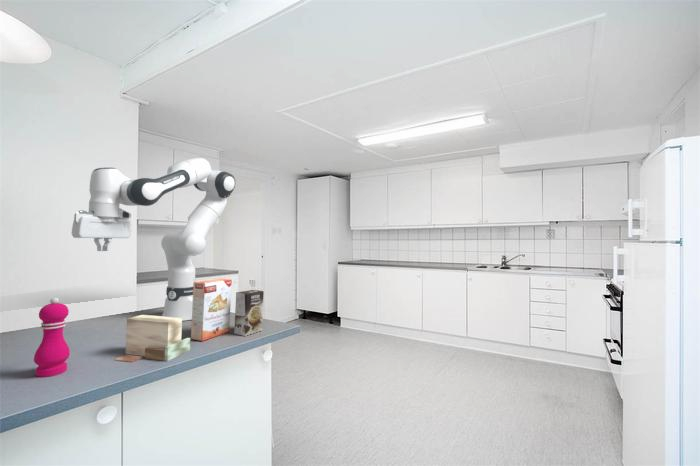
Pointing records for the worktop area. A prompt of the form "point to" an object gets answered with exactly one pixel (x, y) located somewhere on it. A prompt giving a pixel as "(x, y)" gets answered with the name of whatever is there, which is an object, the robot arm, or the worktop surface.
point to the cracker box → (210, 308)
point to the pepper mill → (52, 340)
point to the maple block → (151, 333)
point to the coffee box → (248, 312)
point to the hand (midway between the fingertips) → (102, 251)
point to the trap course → (161, 352)
